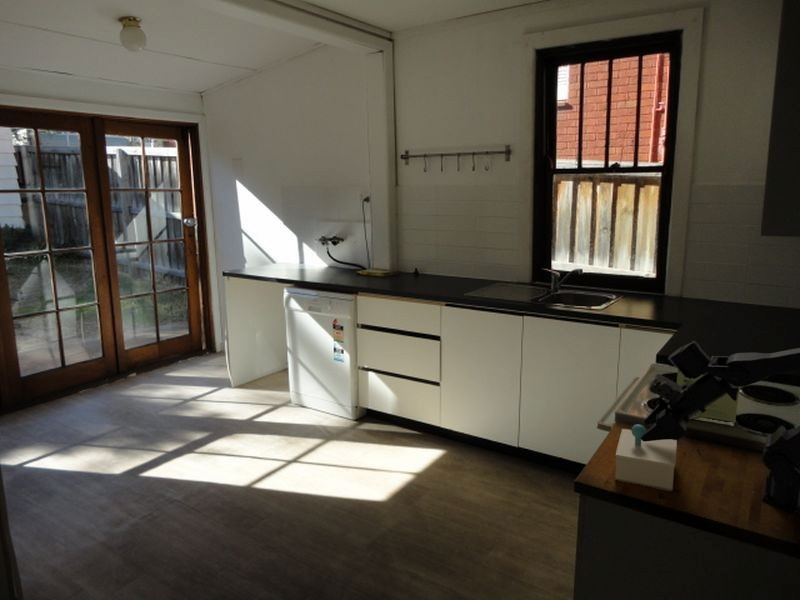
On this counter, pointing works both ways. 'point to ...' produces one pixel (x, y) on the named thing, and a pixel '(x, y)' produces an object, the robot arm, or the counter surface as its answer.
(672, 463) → the carton lid
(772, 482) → the robot arm
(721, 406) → the protein box
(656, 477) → the carton
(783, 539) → the counter surface
